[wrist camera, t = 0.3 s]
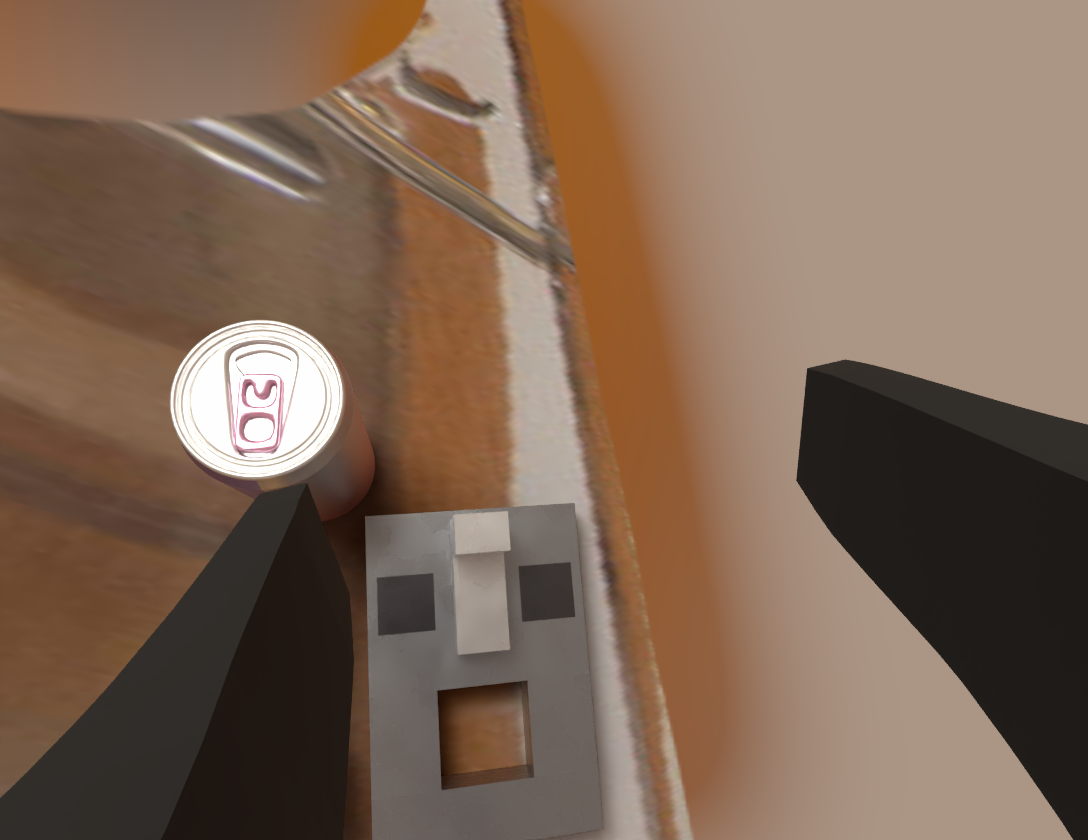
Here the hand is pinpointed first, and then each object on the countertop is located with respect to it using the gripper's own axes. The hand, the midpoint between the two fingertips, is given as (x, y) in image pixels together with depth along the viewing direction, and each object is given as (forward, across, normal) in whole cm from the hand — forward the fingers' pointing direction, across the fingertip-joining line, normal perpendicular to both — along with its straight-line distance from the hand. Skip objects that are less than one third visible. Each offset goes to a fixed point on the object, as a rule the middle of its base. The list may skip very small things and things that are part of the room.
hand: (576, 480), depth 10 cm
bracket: (+18, +2, +19) cm, 27 cm away
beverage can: (+25, +9, +14) cm, 30 cm away
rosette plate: (+17, +3, +24) cm, 29 cm away
